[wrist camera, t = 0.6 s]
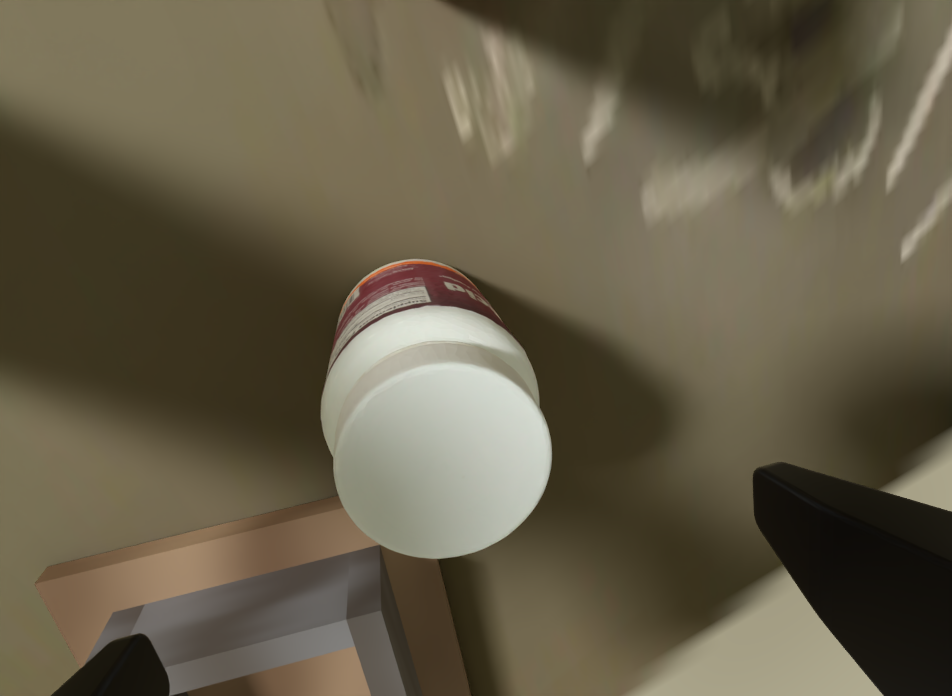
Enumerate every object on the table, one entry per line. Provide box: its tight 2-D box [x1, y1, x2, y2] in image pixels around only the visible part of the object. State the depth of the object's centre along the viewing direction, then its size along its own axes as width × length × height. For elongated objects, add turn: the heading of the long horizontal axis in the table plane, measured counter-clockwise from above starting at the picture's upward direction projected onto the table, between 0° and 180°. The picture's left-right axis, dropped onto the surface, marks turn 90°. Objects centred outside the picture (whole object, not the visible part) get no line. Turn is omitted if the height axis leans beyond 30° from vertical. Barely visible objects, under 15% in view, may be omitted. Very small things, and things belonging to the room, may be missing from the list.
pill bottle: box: [321, 259, 552, 559], centre depth 15 cm, size 5×5×8 cm
